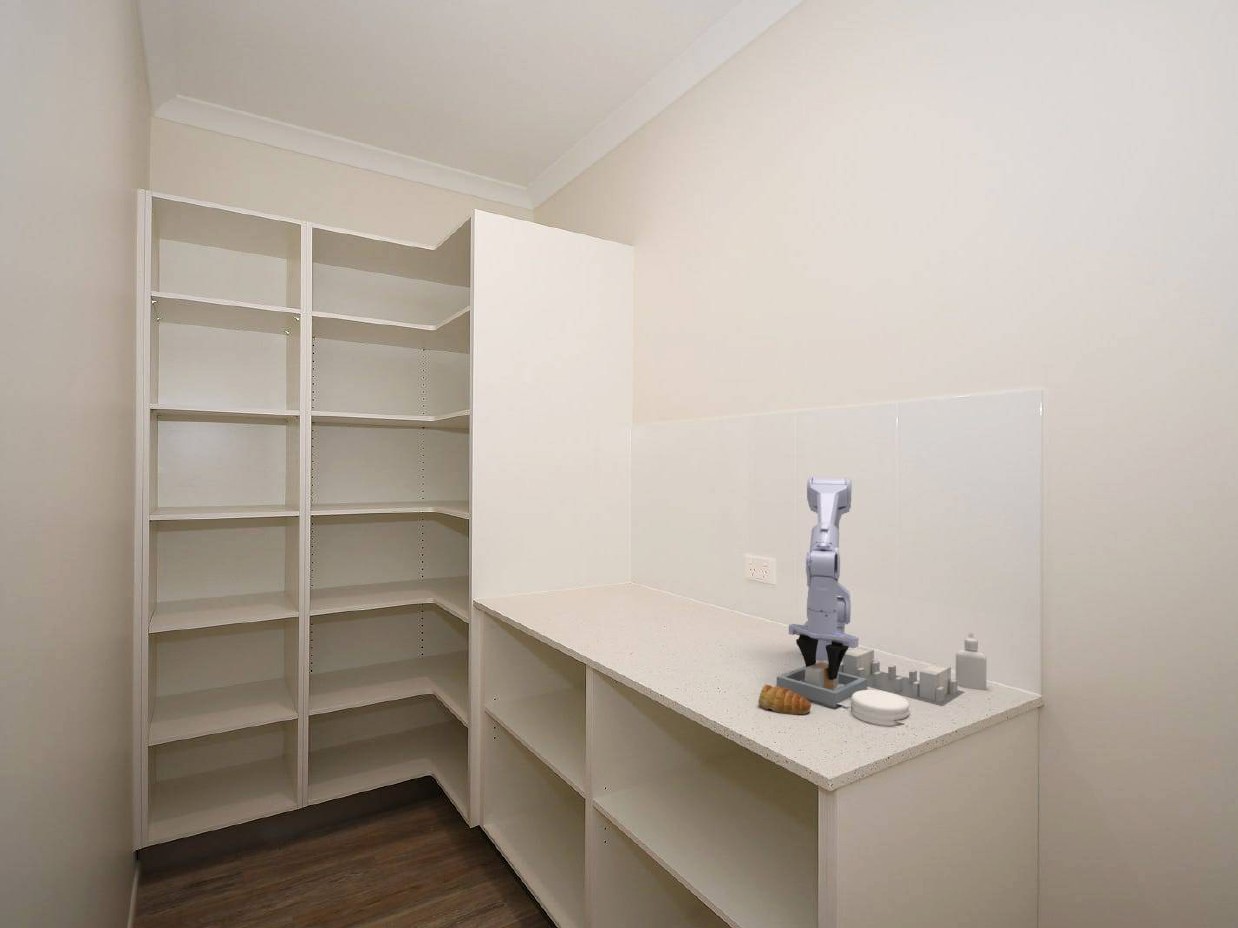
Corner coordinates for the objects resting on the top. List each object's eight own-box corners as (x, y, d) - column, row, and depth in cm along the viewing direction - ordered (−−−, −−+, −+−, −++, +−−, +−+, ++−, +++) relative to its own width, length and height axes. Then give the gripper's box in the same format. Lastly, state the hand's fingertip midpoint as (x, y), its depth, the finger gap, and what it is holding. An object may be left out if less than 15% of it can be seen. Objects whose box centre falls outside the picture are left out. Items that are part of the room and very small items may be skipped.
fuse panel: (830, 681, 137) (830, 664, 137) (856, 669, 145) (856, 654, 145) (942, 711, 120) (942, 692, 120) (964, 696, 129) (964, 679, 129)
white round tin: (875, 703, 125) (875, 685, 125) (921, 721, 116) (921, 702, 116) (839, 712, 120) (839, 693, 120) (884, 731, 111) (884, 711, 111)
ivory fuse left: (843, 676, 137) (843, 653, 137) (860, 669, 143) (860, 646, 143) (856, 680, 135) (856, 656, 135) (873, 672, 140) (873, 649, 140)
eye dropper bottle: (964, 684, 136) (964, 628, 136) (990, 693, 131) (990, 634, 131) (951, 688, 134) (952, 630, 134) (977, 696, 129) (977, 637, 129)
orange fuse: (804, 692, 128) (805, 667, 128) (824, 683, 134) (825, 660, 134) (818, 696, 126) (818, 671, 126) (838, 687, 132) (838, 663, 132)
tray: (776, 691, 130) (776, 676, 130) (809, 677, 139) (809, 664, 139) (835, 709, 121) (835, 693, 121) (867, 693, 130) (867, 678, 130)
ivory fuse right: (919, 696, 125) (919, 671, 125) (935, 687, 131) (935, 663, 131) (935, 700, 123) (935, 674, 123) (950, 691, 129) (950, 666, 129)
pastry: (814, 708, 121) (815, 688, 121) (804, 720, 116) (805, 699, 116) (767, 698, 126) (767, 679, 126) (755, 709, 121) (755, 689, 121)
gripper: (780, 606, 133) (780, 671, 132) (846, 618, 122) (845, 689, 122) (799, 601, 137) (798, 664, 137) (863, 613, 127) (862, 681, 127)
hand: (821, 675), depth 130 cm, fingers open, 4 cm apart
